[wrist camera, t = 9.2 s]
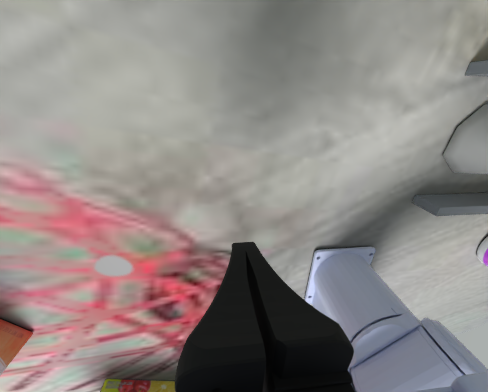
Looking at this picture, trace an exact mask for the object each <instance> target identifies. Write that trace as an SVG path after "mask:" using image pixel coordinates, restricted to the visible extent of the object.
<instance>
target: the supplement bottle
mask: <svg viewBox="0 0 488 392" xmlns="http://www.w3.org/2000/svg"><path fill="white" fill-rule="evenodd" d="M477 257H478V259H479V260H480V261H481V262H482V263H483V264H485V265H486V266H488V237H486V239H485V240H484V241H483V242H482V243H481V244H480V246H479V248H478V251H477Z"/></svg>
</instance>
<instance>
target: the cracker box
mask: <svg viewBox="0 0 488 392" xmlns="http://www.w3.org/2000/svg"><path fill="white" fill-rule="evenodd" d="M32 334H33V332H30V331H28V330H25V329H23V328H21V327H18V326H16V325H14V324H11V323H9V322H7V321H4V320H2V319H0V375H1V374H2V373H3V371H4V370H5V369H6V367H7V366H8V365H9V363H10V362H11V361H12V360H13V358H14V357H15V356H16V355H17V353H18V352H19V351H20V350H21V348H22V347H23V346H24V345H25V343H26V342H27V341H28V339H29V338H30V337H31V336H32Z"/></svg>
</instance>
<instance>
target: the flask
mask: <svg viewBox="0 0 488 392" xmlns="http://www.w3.org/2000/svg"><path fill="white" fill-rule="evenodd" d="M443 157H444V158H445V160H446V162H447V163H448V165H449V167H450V169H451V170H452V172H456V173H470V174H488V104H485V105H483V106H482V107H481V108H480V109H479V110H477V111H476V112H475V113H474V114H473V115H471V116H470V117H469V118H468V119H467V120H465V121H464V122H463V123H462V124H461V125H459V126H458V127H457V129H456V131H455V133H454V135H453V137H452V138H451V140H450V142H449V144H448V146H447V148H446V150H445V152H444V154H443Z"/></svg>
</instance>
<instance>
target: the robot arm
mask: <svg viewBox="0 0 488 392" xmlns="http://www.w3.org/2000/svg"><path fill="white" fill-rule="evenodd" d="M375 251H376V249H375V248H374V247H357V248H340V249H323V250H317V251H315V253H314V257H313V262H312V266H311V271H310V276H309V281H308V286H307V290H306V295H305V300H304V299H302V298H301V297H300V296H299V295H297V294H296V293H295V292H294V291H293V290H292V289H291V288H290V287H289V286H288V285H287V284H286V283H285V282H284V281H283V280H282V279H281V278H280V277H279V276H278V275H277V274H276V272H275V271H274V270H273V269H272V268H271V266H270V265H269V264H268V262H267V261H266V260H265V258H264V257H263V256H262V254H261V253H260V251H259V249H258V248H257V246H256V244H255V243H254V242H243V243H233V244H232V253H231V258H230V262H229V265H228V268H227V271H226V274H225V277H224V279H223V282H222V284H221V286H220V288H219V290H218V292H217V294H216V296H215V298H214V300H213V302H212V303H211V305H210V307H209V308H208V310H207V311H206V313H205V315H204V316H203V318H202V319H201V321H200V322H199V324H198V325H197V326H196V327H195V329H194V330H193V331H192V333H191V334H190V335H189V337H188V338H187V341H186V343H185V345H184V348H183V351H182V353H181V356H180V359H179V363H178V367H177V372H176V378H175V392H488V369H487V368H486V367H485V366H484V365H483V364H482V363H481V362H480V361H479V360H478V359H477V358H476V357H475V356H474V355H473V354H472V353H471V352H470V351H469V350H468V349H467V348H466V347H465V346H464V345H463V344H462V343H461V342H460V341H459V340H458V339H457V338H456V337H455V336H454V335H453V334H452V333H451V332H450V331H449V330H448V329H447V328H445V327H444V326H443V325H442V324H441V323H440V322H439V321H435V320H430V319H429V318H424V319H423V320H422V321H420V320H419V319H417V318H416V317H415V316H414V315H413V313H412V312H411V311H410V310H409V309H408V308H407V307H406V306H405V304H404V303H403V302H402V301H401V300H400V299H399V298H398V297H397V295H396V294H395V293H394V292H393V291H392V290H391V289H390V288H389V286H388V285H387V284H386V283H385V282H384V281H383V280H382V279H381V277H380V276H379V275H378V274H377V273H376V272H375V271H374V270H373V268H372V267H371V266H370V265H371V262H372V259H373V257H374V254H375ZM318 256H319V257H318ZM310 304H313V306H314V307H313V306H311V305H310Z"/></svg>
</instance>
